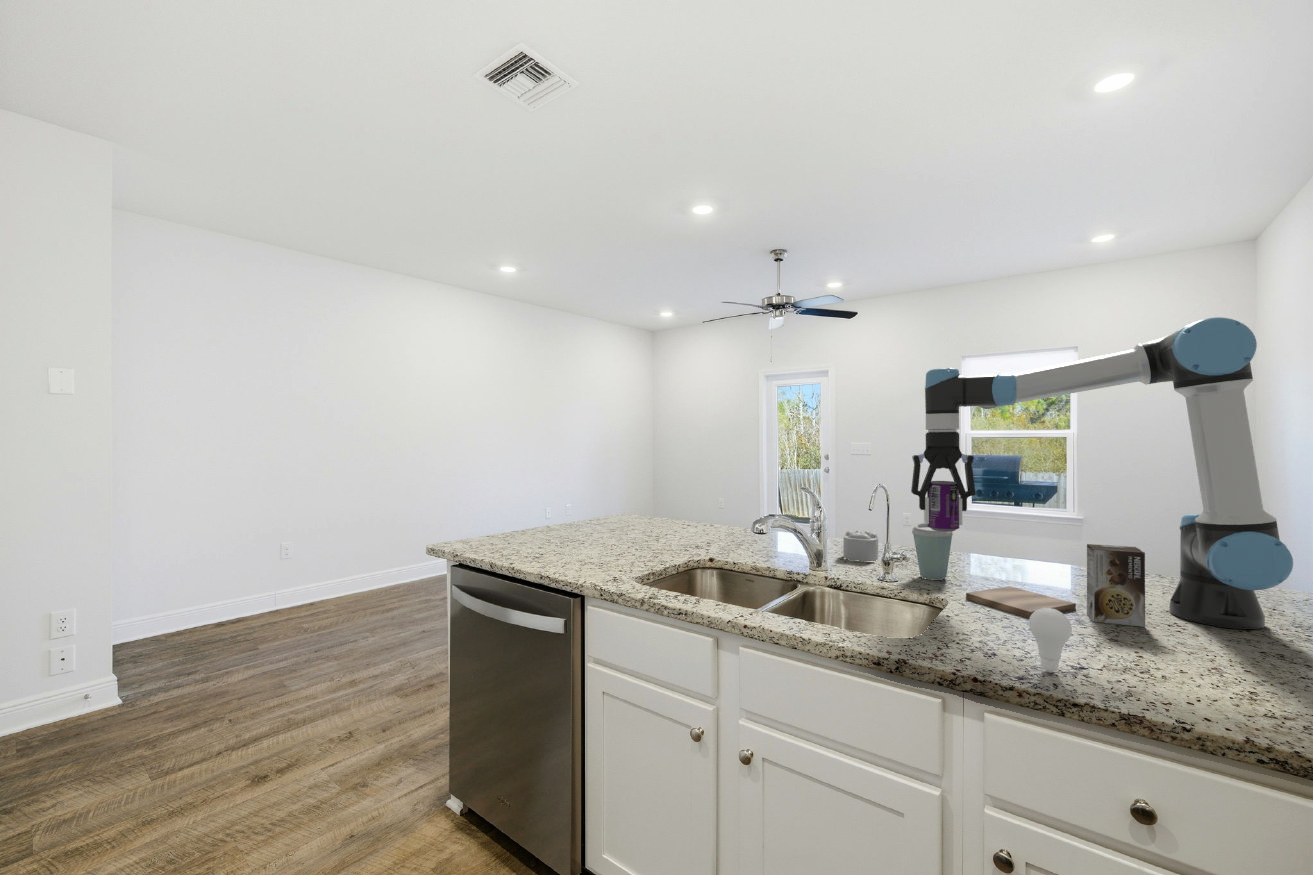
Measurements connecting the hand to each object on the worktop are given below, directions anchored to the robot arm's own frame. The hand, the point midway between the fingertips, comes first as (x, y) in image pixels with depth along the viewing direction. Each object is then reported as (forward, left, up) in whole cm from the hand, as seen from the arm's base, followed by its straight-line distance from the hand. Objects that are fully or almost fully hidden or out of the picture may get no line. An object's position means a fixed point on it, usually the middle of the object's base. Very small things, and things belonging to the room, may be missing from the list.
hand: (942, 523), depth 142 cm
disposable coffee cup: (+15, -14, -19) cm, 28 cm away
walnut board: (-11, -13, -19) cm, 25 cm away
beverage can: (0, 0, -2) cm, 2 cm away
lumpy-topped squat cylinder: (+43, -14, -19) cm, 49 cm away
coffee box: (-27, -21, -19) cm, 39 cm away
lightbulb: (-39, +20, -19) cm, 48 cm away
